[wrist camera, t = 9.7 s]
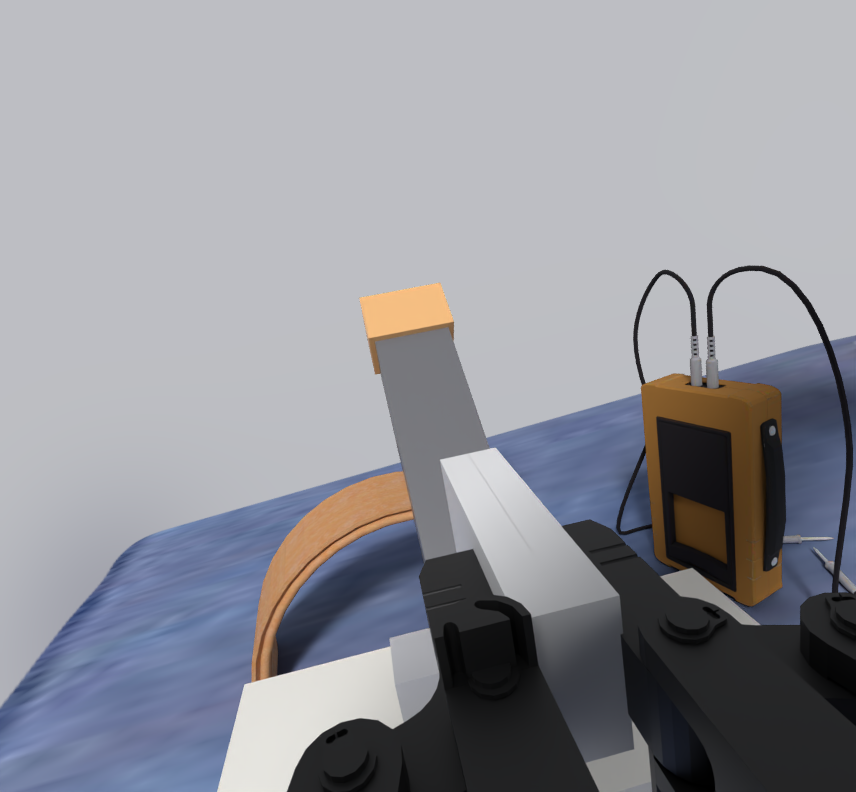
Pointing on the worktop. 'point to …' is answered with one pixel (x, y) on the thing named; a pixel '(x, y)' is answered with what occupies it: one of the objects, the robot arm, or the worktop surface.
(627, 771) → the white rectangular slab
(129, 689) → the worktop surface
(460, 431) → the lever
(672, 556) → the multimeter
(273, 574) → the arch
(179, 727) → the worktop surface
